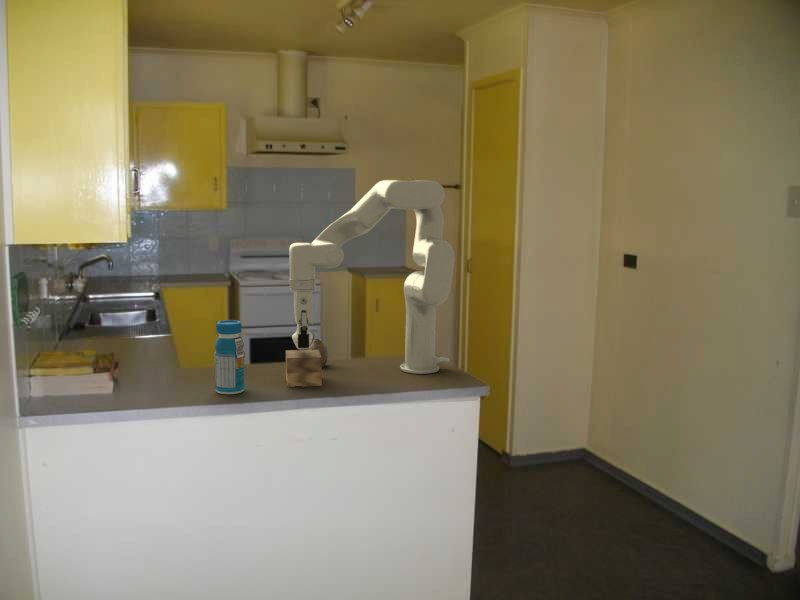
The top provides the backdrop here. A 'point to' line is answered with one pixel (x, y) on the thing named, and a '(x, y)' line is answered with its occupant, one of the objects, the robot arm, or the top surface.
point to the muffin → (295, 338)
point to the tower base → (304, 379)
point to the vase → (321, 347)
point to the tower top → (303, 361)
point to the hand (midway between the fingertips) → (302, 344)
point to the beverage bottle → (229, 358)
